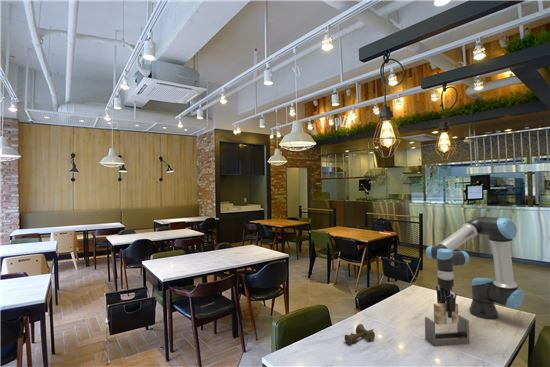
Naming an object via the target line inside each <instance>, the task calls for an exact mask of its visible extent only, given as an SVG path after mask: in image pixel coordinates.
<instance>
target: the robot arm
mask: <svg viewBox="0 0 550 367" xmlns="http://www.w3.org/2000/svg"><path fill="white" fill-rule="evenodd" d="M517 233H518V228H517V225H516V223H515V221H513V220H512V219H510V218H504V217H495V216H485V215H484V216H483V215H482V216H477V217H474V218H471V219H469V220H468V221H466V222H464V223H463V224H462V225H461V227H460V228H459V229H458V230H456V231H455V232H453V233H451V234H450V235H449V236H448V237H446V238H444V240H442V241H441V242H439V243H438V244H437V245H435V246H434V245H430V246H429V245H428V246H427V247H426V249H425V254H426V257H427V258H429V259H432V260H436V263H437V267H436V268H437V285H438V286H437V285H436V286H435V290H436V291H435V292H436V302H437V303H446V306H447V310H446V323H447V324H446V325H452V324H451V323H452V312H455V304H457V303H456V301H457V299H456V298H457V293H454V291H453V287H454V284H455V283H454V282H455V281H454V278H455V277H454V276H455V275H454V267H457V266H464V265H467V264H469V262H470V255H469V253H468V252H467V251H465V250H456V249H458V248H459V247H460V246H462V245H463V244H464V243H466V242H467V241H468V240H470V239H471V238H475V237H477V236H478V235H479V236H480V235H481V236H487V238H488V241H490V242H491V248H492V255H493V256H492V257H493V264H494V265H493V267H494V274H495V280H494V279H493V278H490V277H474V278H473V279H472V280H471V294H472V295H471V298H472V299H471V300H472V301H471V303H470V306H469V310H468V311H469V313H470V314H471V315H473V316H475V317H477V318H480V319H486V320H496V319H498V318H499V312H498V310H497V308H496V305H495V304H499V305H501V306H505V307H506V308H511V309H518V308H520V307H521V305H522V303H523V302H524V298H525V295H524V292H523V290H521V289H519V286H518V285H519V284H518V283H517V282H515V281H514V280H515V279H514V270H513V260H512V252H511V243H512V242H513V239H515V238H516V236H517Z"/></svg>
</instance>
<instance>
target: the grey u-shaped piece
mask: <svg viewBox="0 0 550 367" xmlns="http://www.w3.org/2000/svg"><path fill="white" fill-rule="evenodd" d="M458 320H459V323H456V326H457V327H456V328H457V330H456V331H449V332H438V333H436V323H435V322H434V320H431V319H430V318H429V317H427V316H426V317H424V332H425V333H424V338H425V340H426V341H427V342H428V343H429V344H430V345H431V346H433V347H439V346H440V347H441V346H452V345H453V346H454V345H466V344H470V320H469V319H467V318H465V317H463V316H462V315H460V314H458Z"/></svg>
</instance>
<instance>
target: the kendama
mask: <svg viewBox="0 0 550 367" xmlns="http://www.w3.org/2000/svg"><path fill="white" fill-rule="evenodd" d="M363 336H364V337H365V338H366V339H367V341H368V342H369V343H370V342H371V343H372V341H374V340H375V337H376V334H375V331H374V329H372V328H371V329H368V330H367V329H366V328H365V326H364V325H363V324H362V323H359V324H357V326H356V327H355V333H353V332H352V333H350V334H349V335H348V334H345V335H344V341H345V343H346V344H347V345H348V346H351V345H352V344H353V343H356V342H357V340H358V339H360V338H361V337H363Z"/></svg>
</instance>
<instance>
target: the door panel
mask: <svg viewBox="0 0 550 367" xmlns="http://www.w3.org/2000/svg"><path fill="white" fill-rule="evenodd" d="M446 310H447V306H446V303H436V302H435V303H433V322H434V323H435V325H438V326H439V325H448V324H447V323H446ZM458 315H459V304H458V303H456V304H455V312H452V323H451V324H450V325H452V324H453V325H454V324H457V323H459V320H458Z"/></svg>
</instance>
